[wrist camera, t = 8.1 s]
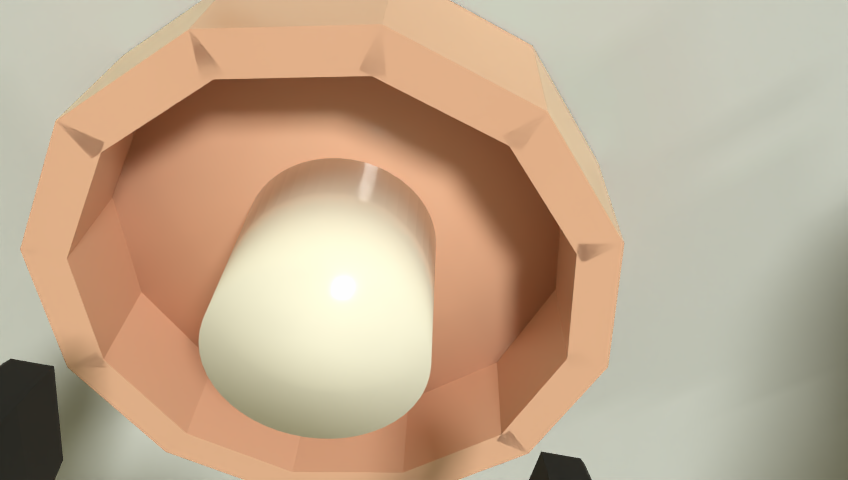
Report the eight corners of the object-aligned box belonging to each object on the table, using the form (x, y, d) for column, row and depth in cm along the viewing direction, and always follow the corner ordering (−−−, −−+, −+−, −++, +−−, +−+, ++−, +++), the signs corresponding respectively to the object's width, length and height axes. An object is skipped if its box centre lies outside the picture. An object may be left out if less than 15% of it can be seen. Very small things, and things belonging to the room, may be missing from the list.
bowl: (671, 293, 17) (706, 386, 15) (298, 450, 21) (277, 547, 18) (420, -154, 13) (411, -124, 10) (-11, 149, 16) (-97, 225, 14)
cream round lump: (472, 263, 16) (476, 383, 13) (328, 341, 18) (301, 466, 15) (357, 121, 14) (332, 223, 12) (207, 220, 16) (149, 333, 13)
